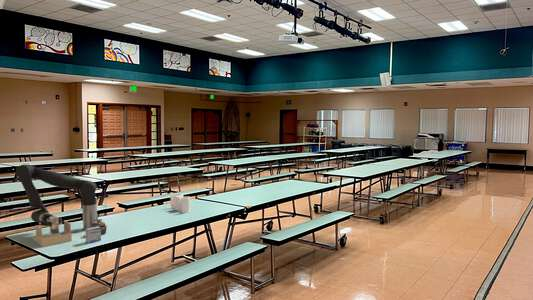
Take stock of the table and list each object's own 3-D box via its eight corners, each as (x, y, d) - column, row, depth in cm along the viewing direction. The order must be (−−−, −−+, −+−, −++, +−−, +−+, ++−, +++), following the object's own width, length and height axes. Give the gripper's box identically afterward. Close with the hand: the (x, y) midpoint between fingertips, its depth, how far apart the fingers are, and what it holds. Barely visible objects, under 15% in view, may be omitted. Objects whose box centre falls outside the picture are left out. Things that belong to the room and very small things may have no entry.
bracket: (192, 211, 330) (192, 197, 329) (181, 213, 324) (181, 198, 323) (180, 206, 350) (180, 193, 349) (170, 208, 344) (169, 194, 344)
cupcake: (93, 237, 259) (92, 221, 258) (90, 233, 267) (89, 219, 266) (108, 234, 265) (108, 219, 264) (105, 231, 272) (104, 217, 272)
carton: (59, 233, 268) (58, 217, 268) (71, 241, 250) (71, 223, 250) (31, 238, 257) (30, 221, 256) (42, 246, 239) (41, 229, 238)
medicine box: (88, 243, 245) (88, 229, 244) (85, 242, 248) (85, 228, 247) (101, 240, 251) (100, 227, 250) (98, 239, 254) (97, 226, 253)
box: (56, 231, 251) (55, 216, 250) (59, 233, 248) (58, 217, 247) (50, 232, 249) (49, 217, 248) (52, 234, 245) (51, 218, 244)
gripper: (34, 215, 254) (42, 220, 241) (58, 211, 263) (66, 215, 251) (35, 226, 254) (42, 232, 242) (59, 222, 264) (67, 227, 252)
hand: (55, 223), depth 246 cm, fingers closed on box, 3 cm apart
